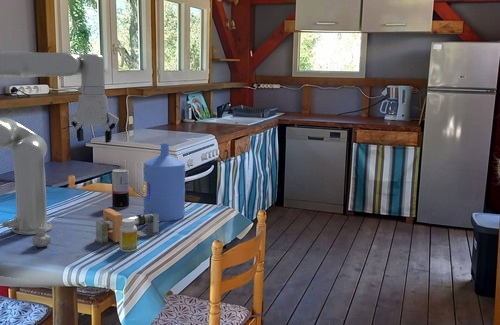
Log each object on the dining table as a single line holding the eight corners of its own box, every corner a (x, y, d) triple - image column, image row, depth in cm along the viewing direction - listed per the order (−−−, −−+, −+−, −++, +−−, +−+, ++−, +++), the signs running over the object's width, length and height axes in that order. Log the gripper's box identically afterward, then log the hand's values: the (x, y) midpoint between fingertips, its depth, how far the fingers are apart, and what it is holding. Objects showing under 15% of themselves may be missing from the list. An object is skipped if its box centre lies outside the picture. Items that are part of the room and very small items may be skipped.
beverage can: (109, 207, 211) (108, 171, 208) (117, 203, 217) (116, 168, 214) (124, 209, 209) (124, 172, 206) (131, 205, 215) (131, 169, 213)
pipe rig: (102, 245, 168) (101, 224, 166) (94, 240, 172) (94, 219, 171) (160, 234, 181) (160, 214, 180) (151, 229, 185) (151, 210, 184)
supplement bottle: (116, 249, 165) (115, 219, 163) (130, 245, 169) (130, 216, 167) (126, 253, 161) (125, 223, 160) (140, 249, 165) (140, 220, 164)
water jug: (190, 213, 207) (192, 143, 202) (174, 224, 193) (175, 148, 187) (154, 208, 211) (154, 140, 206) (136, 219, 197) (135, 145, 192)
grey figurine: (49, 242, 169) (48, 218, 167) (52, 249, 163) (51, 224, 162) (31, 244, 166) (30, 220, 165) (33, 251, 160) (32, 226, 159)
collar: (115, 242, 169) (115, 215, 167) (103, 234, 176) (103, 209, 174) (122, 240, 170) (122, 214, 169) (110, 233, 177) (110, 208, 176)
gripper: (63, 91, 175) (65, 141, 178) (114, 93, 173) (115, 144, 176) (73, 90, 182) (74, 138, 185) (121, 91, 180) (122, 141, 184)
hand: (94, 141), depth 181 cm, fingers open, 9 cm apart
